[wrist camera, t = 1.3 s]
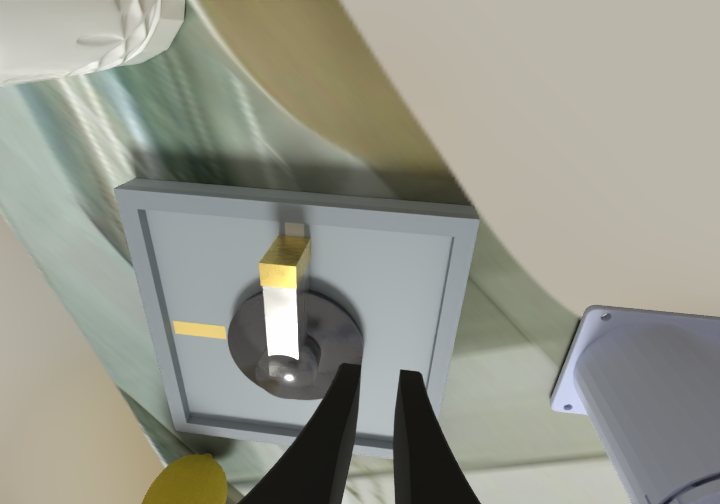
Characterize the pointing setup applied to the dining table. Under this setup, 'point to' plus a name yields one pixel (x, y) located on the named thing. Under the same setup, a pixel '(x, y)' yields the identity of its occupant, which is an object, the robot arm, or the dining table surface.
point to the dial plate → (327, 276)
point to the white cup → (81, 36)
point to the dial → (292, 328)
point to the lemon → (189, 482)
